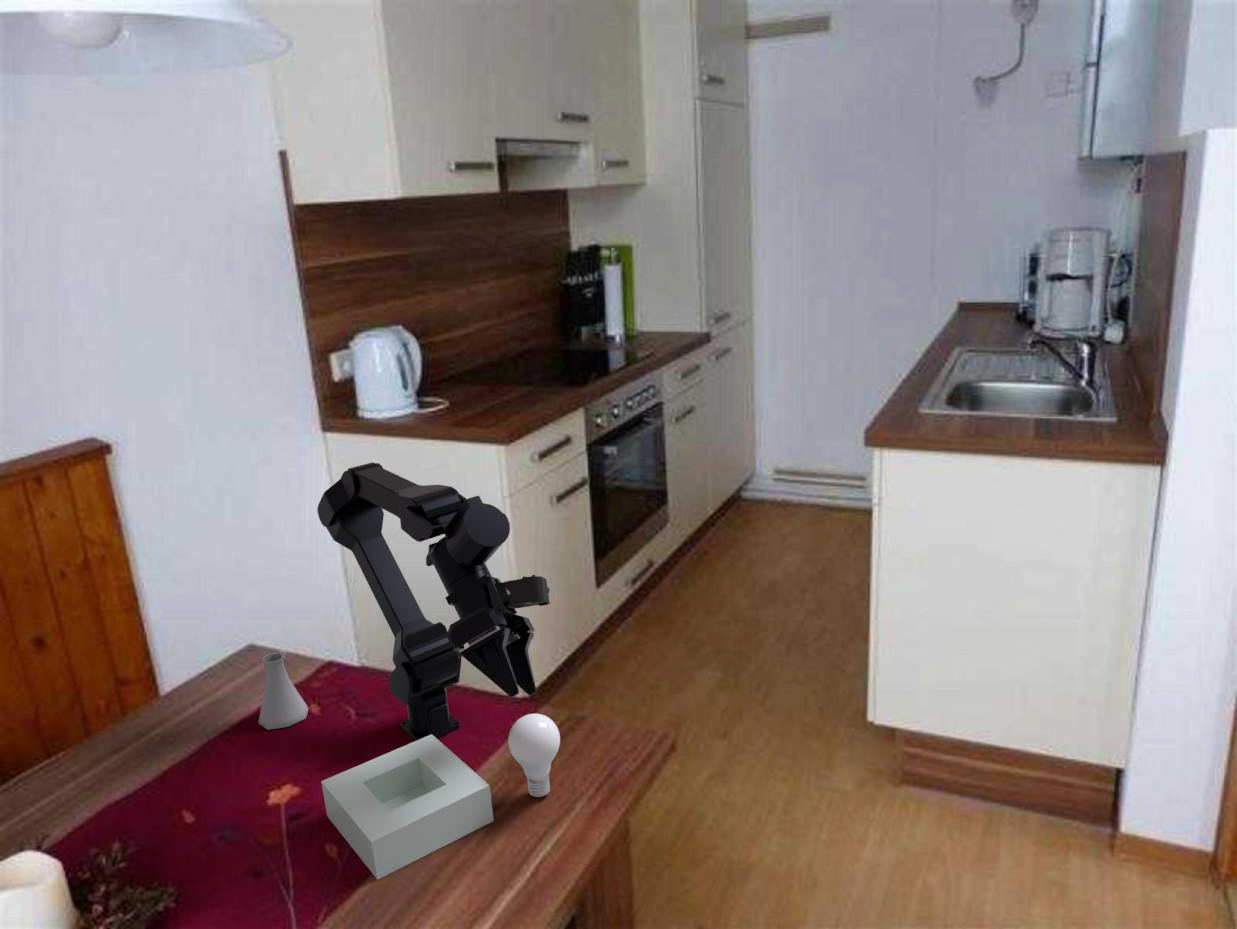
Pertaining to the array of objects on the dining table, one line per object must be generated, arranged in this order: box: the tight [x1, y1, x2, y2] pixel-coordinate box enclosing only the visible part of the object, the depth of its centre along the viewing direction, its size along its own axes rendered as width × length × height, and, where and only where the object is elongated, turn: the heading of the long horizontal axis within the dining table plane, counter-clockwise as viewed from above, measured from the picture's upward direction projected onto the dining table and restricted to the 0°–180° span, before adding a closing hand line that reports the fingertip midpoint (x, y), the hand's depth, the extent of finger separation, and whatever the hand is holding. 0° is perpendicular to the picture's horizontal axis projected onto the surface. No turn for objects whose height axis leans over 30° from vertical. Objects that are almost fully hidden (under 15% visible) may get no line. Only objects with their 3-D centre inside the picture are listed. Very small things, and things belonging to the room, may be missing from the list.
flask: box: [258, 651, 309, 731], centre depth 138 cm, size 7×7×10 cm
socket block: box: [320, 734, 494, 881], centre depth 114 cm, size 15×15×5 cm
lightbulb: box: [507, 713, 561, 798], centre depth 116 cm, size 6×6×11 cm
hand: (524, 694), depth 112 cm, fingers open, 9 cm apart
